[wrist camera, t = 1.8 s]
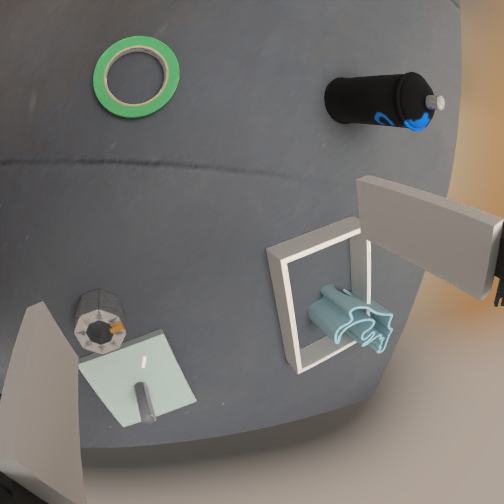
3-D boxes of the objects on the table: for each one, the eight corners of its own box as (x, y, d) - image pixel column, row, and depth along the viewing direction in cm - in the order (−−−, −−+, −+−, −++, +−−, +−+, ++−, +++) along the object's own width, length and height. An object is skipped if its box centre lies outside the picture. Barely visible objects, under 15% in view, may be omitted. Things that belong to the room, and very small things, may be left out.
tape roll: (77, 90, 33) (75, 87, 31) (131, 26, 33) (132, 20, 30) (141, 134, 39) (142, 134, 37) (192, 71, 38) (197, 68, 36)
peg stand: (122, 421, 54) (129, 459, 46) (76, 359, 46) (75, 399, 38) (194, 396, 58) (209, 431, 50) (162, 328, 50) (174, 365, 42)
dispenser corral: (286, 359, 64) (298, 374, 60) (265, 248, 53) (280, 259, 48) (355, 323, 69) (369, 335, 65) (351, 215, 58) (370, 223, 53)
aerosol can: (321, 76, 46) (420, 67, 29) (359, 78, 48) (454, 75, 31) (326, 125, 49) (424, 135, 32) (362, 123, 52) (457, 134, 35)
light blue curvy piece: (375, 294, 70) (404, 313, 62) (356, 331, 71) (382, 353, 64) (320, 280, 61) (350, 303, 53) (298, 324, 63) (325, 351, 55)
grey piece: (89, 335, 45) (89, 361, 40) (70, 299, 42) (66, 323, 37) (129, 320, 47) (133, 345, 42) (111, 283, 44) (113, 305, 39)
